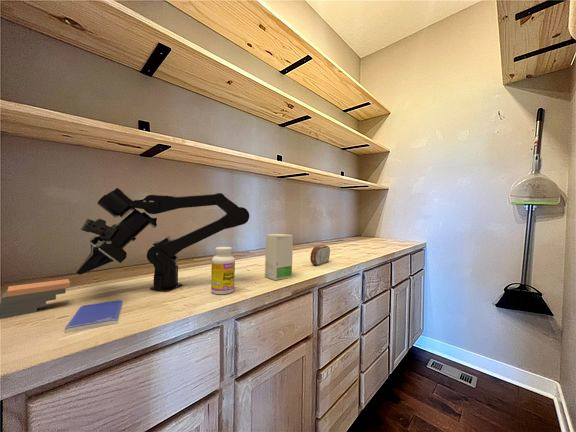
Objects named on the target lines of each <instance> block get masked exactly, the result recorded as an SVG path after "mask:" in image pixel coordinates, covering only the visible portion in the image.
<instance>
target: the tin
mask: <svg viewBox="0 0 576 432" xmlns="http://www.w3.org/2000/svg"><path fill="white" fill-rule="evenodd" d="M330 254H331V248H330V247H329V246H328V245H324V244H321V245H317V246H314V247H313V248H312V249H311V252H310V256H309V259H310V263H311V265H315V266H321V265H324V264H327V263H328V261H329V259H330Z"/></svg>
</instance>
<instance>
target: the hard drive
mask: <svg viewBox="0 0 576 432" xmlns="http://www.w3.org/2000/svg"><path fill="white" fill-rule="evenodd" d="M123 303H124V302H123V300H114V301H113V300H112V301H106V302H99V303H91V304H84V305H81V306H80V307H79V308H78V310H77V311H76V312H75V314H74V315H73V317H72V318H71V319H70V320H69V322H68V324H67V325H66V326H65V328H64V331H63V332H64V334H69V333H73V332H79V331H84V330H85V331H86V330H89V329H95V328H96V329H97V328H102V327H108V326H112V325H117V324H118V323H119V318H120V315H121V311H122V308H123Z"/></svg>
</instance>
